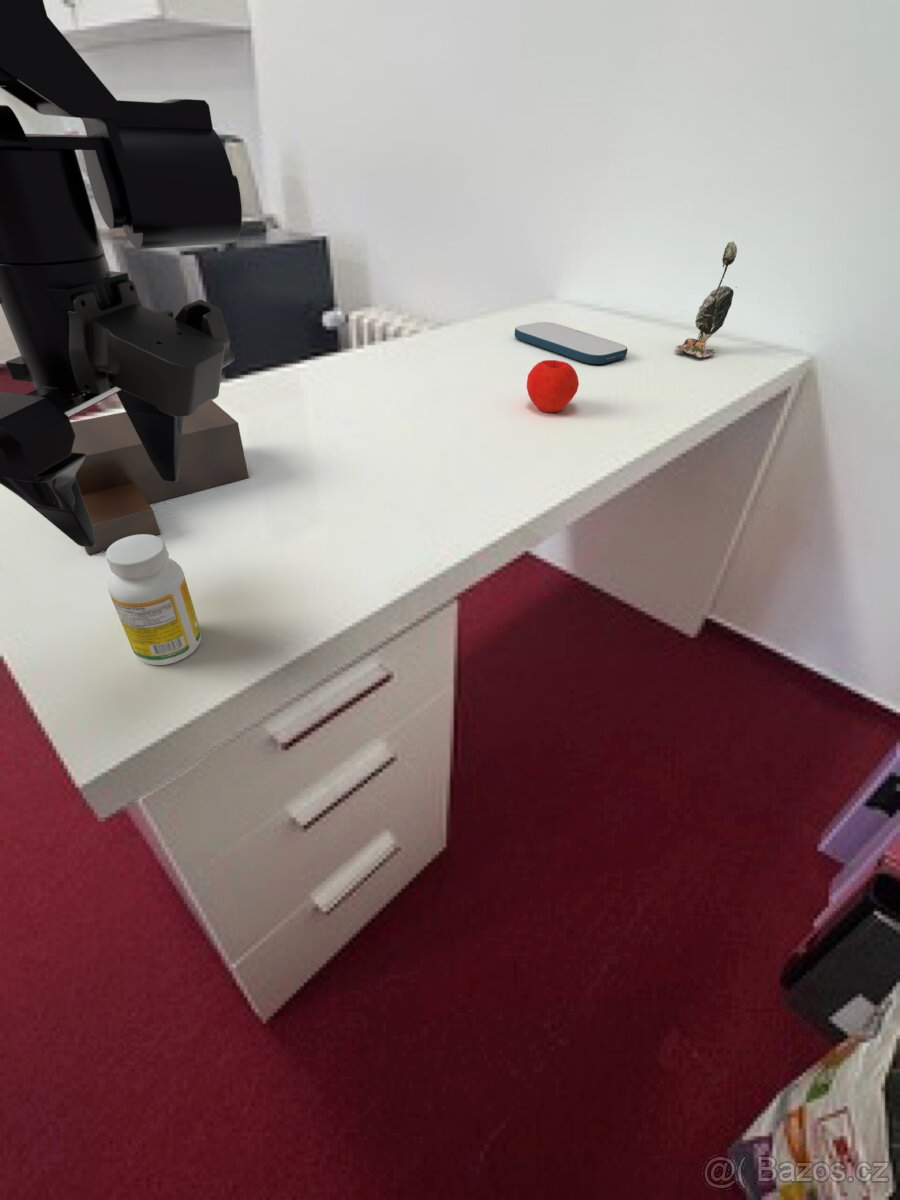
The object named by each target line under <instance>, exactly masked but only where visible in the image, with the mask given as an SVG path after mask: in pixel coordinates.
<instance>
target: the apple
mask: <svg viewBox="0 0 900 1200" xmlns="http://www.w3.org/2000/svg"><path fill="white" fill-rule="evenodd" d="M579 385H580V382H579V376H578V373H577V371H576V370H575V369H574V367H573V366H572V365H571V364H570V363H568V362H567V361H562V360H557V359H545V360H541V361H539V362H537V363H536V364H535V365H534V366H533V367H532V369H531V370H530V371H529V373H528V375H527V379H526V391H527V394H528V395H527V396H528V397H529V399H530V401H531V402H532V404H533V405H534V406H535V407H536V409H538V411H541V412H544V413H557V412H560V411H562V410H563V409H564V408H565V407H567V405H568V404H569V403H570V402H571V401H572V400H573V399H574V397H575V396H576V394H577V392H578V390H579Z"/></svg>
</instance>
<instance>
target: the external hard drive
mask: <svg viewBox="0 0 900 1200" xmlns="http://www.w3.org/2000/svg"><path fill="white" fill-rule="evenodd" d="M514 338H516V339H517V340H519V341H522V342H525V343H528V344H531V345H534V346H536V347H540V348H542V349H545V350H548V351H551V352H553V353H557V354H559V355H562V356H565V357H567V358H571V359H574V360H577V361H580V362H582V363H586V364H592V365H602V364H607V363H611V362H615V361H619V360H622V359H624V358H626V357H627V354H628V347H627V346H626V345H625V344H624V343H623V344H622V343H620V342H616V341H614V340H610V339H608V338H604V337H601V336H598V335H594V334H592V333H588V332H585V331H582V330H578V329H575V328H573V327H569V326H565V325H564V324H563V325H562V324H560V323H555V322H550V321H549V322H548V321H537V322H533V323H529V324H528V323H527V324H522V325H518V326H516V327H515V328H514Z"/></svg>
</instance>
